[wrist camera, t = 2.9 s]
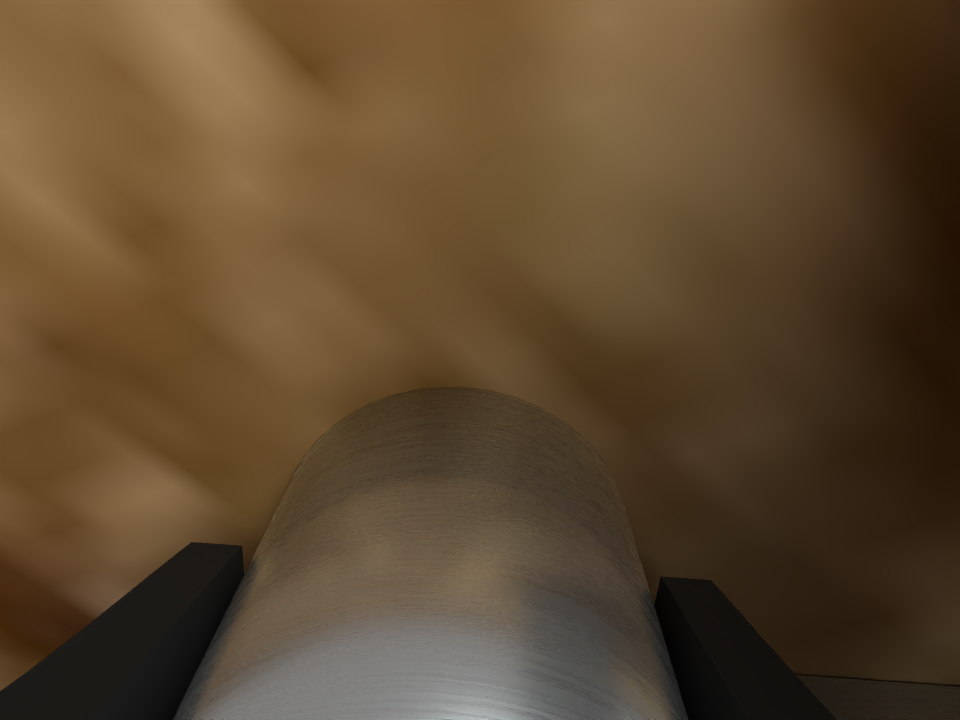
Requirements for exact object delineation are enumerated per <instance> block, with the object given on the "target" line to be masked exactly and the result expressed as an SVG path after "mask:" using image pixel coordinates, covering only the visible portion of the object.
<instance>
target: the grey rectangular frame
mask: <svg viewBox="0 0 960 720" xmlns="http://www.w3.org/2000/svg"><path fill="white" fill-rule="evenodd" d="M796 676H797V677H798V678H799V679H800V680H801V681H802V683H803V684H804V685H805V686H806V687H807V688H808V689H809V690H810V691H811V692H812V693H813V695H814V696H815V697H816V698H817V699H818V700H819V701H820V702H821V703H822V704H823V705H824V706H825V707H826V708H827V709H828V711H829V712H830V713H831V714H832V715H833V716H834V717H835V718H836V719H837V720H960V687H956V686H942V685H928V684H914V683H901V682H887V681H873V680H859V679H845V678H831V677H817V676H803V675H796Z"/></svg>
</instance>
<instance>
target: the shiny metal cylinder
mask: <svg viewBox="0 0 960 720" xmlns="http://www.w3.org/2000/svg"><path fill="white" fill-rule="evenodd" d="M173 720H688V716H687V713H686V710H685V706H684V703H683V700H682V696H681V693H680V690H679V686H678V683H677V680H676V677H675V673H674V670H673V667H672V663H671V660H670V657H669V653H668V650H667V647H666V643H665V640H664V637H663V633H662V630H661V627H660V623H659V620H658V617H657V613H656V610H655V607H654V603H653V600H652V597H651V593H650V590H649V587H648V583H647V580H646V577H645V573H644V570H643V567H642V563H641V560H640V557H639V553H638V550H637V547H636V543H635V540H634V537H633V533H632V530H631V527H630V523H629V520H628V517H627V513H626V510H625V507H624V503H623V500H622V497H621V495H620V492H619V490H618V487H617V484H616V482H615V480H614V478H613V476H612V475H611V473H610V471H609V469H608V468H607V466H606V464H605V463H604V461H603V460H602V459H601V457H600V456H599V455H598V454H597V452H596V451H595V450H594V448H593V447H592V446H591V445H590V444H589V443H588V442H587V441H586V440H585V439H584V438H583V437H582V436H580V435H579V434H578V433H577V432H576V431H575V430H574V429H572V428H571V427H570V426H568V425H567V424H565V423H564V422H563V421H561V420H560V419H559V418H557V417H555V416H554V415H552V414H550V413H548V412H546V411H544V410H543V409H541V408H539V407H537V406H535V405H532V404H530V403H527V402H525V401H522V400H520V399H517V398H515V397H511V396H507V395H503V394H499V393H496V392H492V391H486V390H478V389H471V388H447V387H440V388H430V389H421V390H414V391H410V392H405V393H401V394H397V395H392V396H390V397H387V398H384V399H381V400H379V401H376V402H373V403H371V404H369V405H367V406H365V407H363V408H361V409H359V410H357V411H355V412H353V413H351V414H350V415H348V416H347V417H345V418H344V419H342V420H341V421H340V422H338V423H337V424H335V425H334V426H333V427H331V428H330V429H329V430H328V431H327V432H326V433H325V434H324V435H323V436H322V437H321V438H320V439H319V440H317V441H316V443H315V444H314V445H313V446H312V448H311V449H310V450H309V451H308V453H307V454H306V455H305V457H304V458H303V460H302V461H301V463H300V465H299V467H298V468H297V470H296V472H295V474H294V475H293V477H292V479H291V481H290V483H289V485H288V488H287V490H286V492H285V494H284V496H283V498H282V500H281V502H280V504H279V506H278V508H277V510H276V512H275V514H274V516H273V518H272V520H271V522H270V524H269V526H268V528H267V530H266V532H265V534H264V536H263V538H262V540H261V542H260V544H259V546H258V548H257V550H256V552H255V554H254V556H253V558H252V560H251V562H250V564H249V566H248V568H247V570H246V572H245V574H244V576H243V578H242V580H241V582H240V584H239V586H238V588H237V590H236V592H235V594H234V596H233V598H232V600H231V603H230V605H229V607H228V609H227V611H226V613H225V615H224V617H223V619H222V621H221V623H220V625H219V627H218V629H217V631H216V633H215V635H214V637H213V639H212V641H211V643H210V645H209V647H208V649H207V651H206V653H205V655H204V657H203V659H202V661H201V663H200V665H199V667H198V669H197V671H196V673H195V675H194V677H193V679H192V681H191V683H190V685H189V687H188V689H187V691H186V693H185V695H184V697H183V699H182V701H181V703H180V705H179V707H178V709H177V711H176V713H175V716H174V718H173Z"/></svg>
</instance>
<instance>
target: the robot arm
mask: <svg viewBox="0 0 960 720" xmlns="http://www.w3.org/2000/svg"><path fill="white" fill-rule="evenodd" d="M243 576H244V568H243V553H242V546H237V545H223V544H209V543H196V542H191V543H190V544H189V545H188V546H186V547H185V548H184V549H182V550H181V551H180V552H179V553H177V554H176V555H175V556H173V557H172V558H171V559H170V560H168V561H167V562H166V563H165V564H163V565H162V566H161V567H160V568H158V569H157V570H156V571H155V572H153V573H152V574H151V575H150V576H148V577H147V578H146V579H145V580H143V581H142V582H141V583H140V584H138V585H137V586H136V587H135V588H133V589H132V590H131V591H130V592H128V593H127V594H126V595H125V596H123V597H122V598H121V599H120V600H118V601H117V602H116V603H115V604H113V605H112V606H111V607H110V608H108V609H107V610H106V611H105V612H103V613H102V614H101V615H100V616H98V617H97V618H96V619H95V620H93V621H92V622H91V623H90V624H88V625H87V626H86V627H85V628H83V629H82V630H81V631H79V632H78V633H77V634H76V635H74V636H73V637H72V638H70V639H69V640H68V641H67V642H65V643H64V644H63V645H61V646H60V647H59V648H57V649H56V650H55V651H54V652H52V653H51V654H50V655H48V656H47V657H46V658H45V659H43V660H42V661H41V662H39V663H38V664H37V665H36V666H34V667H33V668H32V669H30V670H29V671H28V672H26V673H25V674H24V675H22V676H21V677H20V678H18V679H17V680H16V681H14V682H13V683H11V684H10V685H9V686H7V687H6V688H4V689H3V690H2V691H0V720H173V718H174V716H175V713H176V711H177V709H178V707H179V705H180V703H181V701H182V699H183V697H184V695H185V693H186V691H187V689H188V687H189V685H190V683H191V681H192V679H193V677H194V675H195V673H196V671H197V669H198V667H199V665H200V663H201V661H202V659H203V657H204V655H205V653H206V651H207V649H208V647H209V645H210V643H211V641H212V639H213V637H214V635H215V633H216V631H217V629H218V627H219V625H220V623H221V621H222V619H223V617H224V615H225V613H226V611H227V609H228V607H229V605H230V603H231V600H232V598H233V596H234V594H235V592H236V590H237V588H238V586H239V584H240V582H241V580H242V578H243ZM654 607H655V610H656V613H657V617H658V620H659V623H660V627H661V630H662V633H663V637H664V640H665V643H666V647H667V650H668V653H669V657H670V660H671V663H672V667H673V670H674V673H675V677H676V680H677V683H678V686H679V690H680V693H681V696H682V700H683V703H684V706H685V710H686V713H687V716H688V720H837V719H836V718H835V717H834V716H833V715H832V714H831V713H830V712H829V711H828V709H827V708H826V707H825V706H824V705H823V704H822V703H821V702H820V701H819V700H818V699H817V698H816V697H815V696H814V695H813V693H812V692H811V691H810V690H809V689H808V688H807V687H806V686H805V685H804V684H803V683H802V681H801V680H800V679H799V678H798V677H797V676H796V675H795V674H794V673H793V672H792V671H791V669H790V668H789V667H788V666H787V665H786V664H785V663H784V662H783V660H782V659H781V658H780V657H779V656H778V655H777V654H776V653H775V652H774V650H773V649H772V648H771V647H770V646H769V645H768V644H767V643H766V642H765V640H764V639H763V638H762V637H761V636H760V635H759V634H758V633H757V631H756V630H755V629H754V628H753V627H752V626H751V625H750V624H749V622H748V621H747V620H746V619H745V618H744V617H743V616H742V614H741V613H740V612H739V611H738V610H737V609H736V608H735V607H734V605H733V604H732V603H731V602H730V601H729V600H728V599H727V598H726V596H725V595H724V594H723V593H722V592H721V591H720V590H719V589H718V588H717V587H716V586H715V584H714V583H713V582H712V581H711V580H700V579H687V578H673V577H661V578H660V582H659V587H658V591H657V596H656V601H655V605H654Z"/></svg>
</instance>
